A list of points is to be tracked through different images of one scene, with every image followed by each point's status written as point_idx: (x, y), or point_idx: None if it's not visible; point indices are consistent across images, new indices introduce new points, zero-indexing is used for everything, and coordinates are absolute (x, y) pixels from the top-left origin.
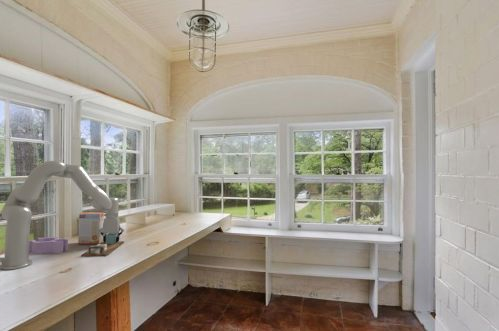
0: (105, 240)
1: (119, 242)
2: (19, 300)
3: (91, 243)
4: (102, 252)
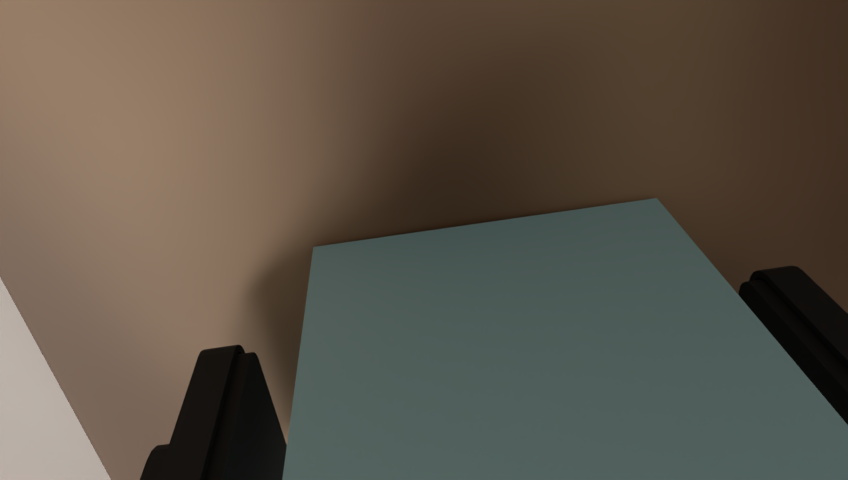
0: None
1: None
2: None
3: None
4: None
